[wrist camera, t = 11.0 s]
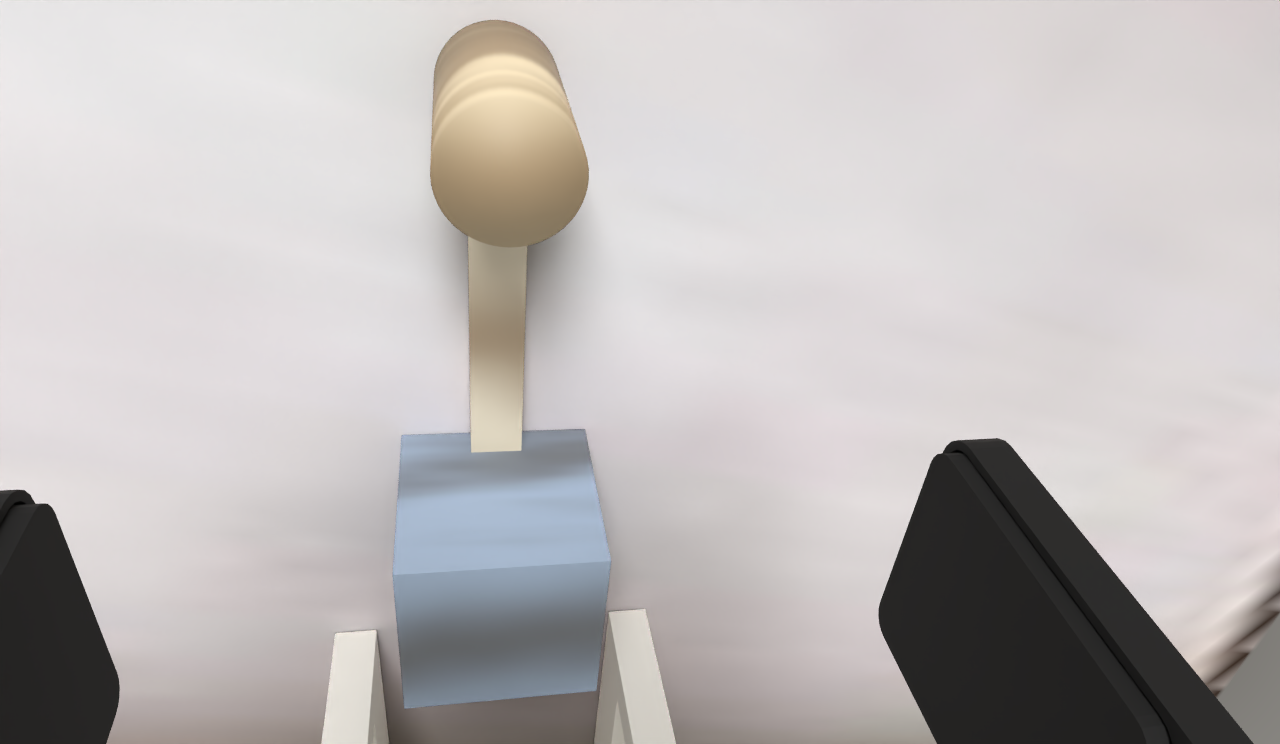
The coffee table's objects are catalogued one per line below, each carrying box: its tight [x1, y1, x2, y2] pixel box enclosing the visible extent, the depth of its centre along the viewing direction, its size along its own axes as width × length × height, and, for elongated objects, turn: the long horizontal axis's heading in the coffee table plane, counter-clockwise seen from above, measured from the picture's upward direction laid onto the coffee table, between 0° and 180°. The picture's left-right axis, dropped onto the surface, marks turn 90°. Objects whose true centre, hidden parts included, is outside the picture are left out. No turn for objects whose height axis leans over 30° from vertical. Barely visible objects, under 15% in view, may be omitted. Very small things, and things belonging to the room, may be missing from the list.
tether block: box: [393, 20, 611, 709], centre depth 25 cm, size 19×6×6 cm, turn 175°
